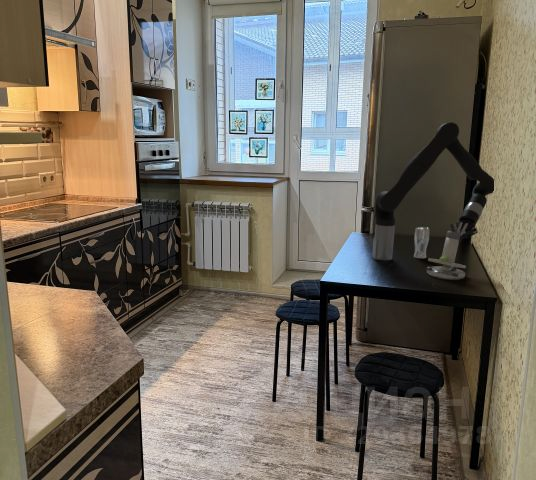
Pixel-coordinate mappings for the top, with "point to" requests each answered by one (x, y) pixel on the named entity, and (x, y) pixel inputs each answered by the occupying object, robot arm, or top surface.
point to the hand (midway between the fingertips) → (455, 243)
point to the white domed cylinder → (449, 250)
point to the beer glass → (421, 242)
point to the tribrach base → (446, 272)
